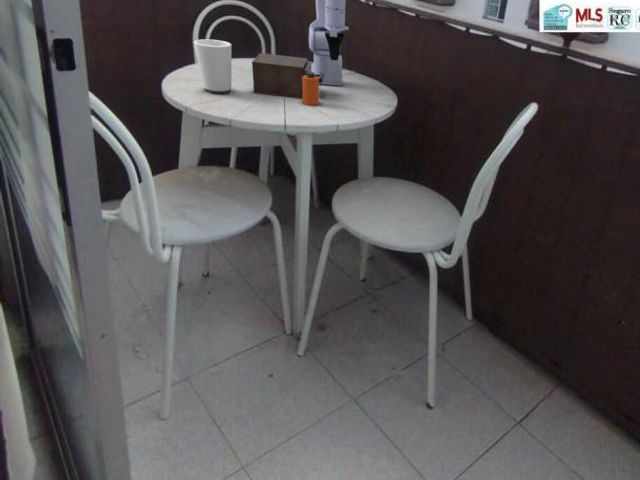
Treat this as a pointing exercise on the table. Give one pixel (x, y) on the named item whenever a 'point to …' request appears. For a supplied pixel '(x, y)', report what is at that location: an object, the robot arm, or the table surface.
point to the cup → (214, 64)
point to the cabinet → (278, 75)
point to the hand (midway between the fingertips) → (334, 59)
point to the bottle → (310, 89)
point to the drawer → (309, 69)
